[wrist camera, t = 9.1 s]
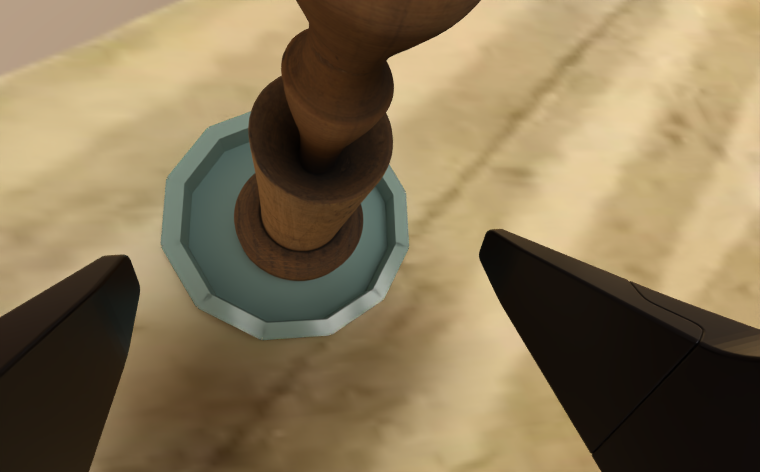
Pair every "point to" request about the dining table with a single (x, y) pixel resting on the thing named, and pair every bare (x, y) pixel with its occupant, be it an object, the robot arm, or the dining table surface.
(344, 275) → the glazed dish
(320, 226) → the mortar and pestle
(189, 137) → the dining table surface
